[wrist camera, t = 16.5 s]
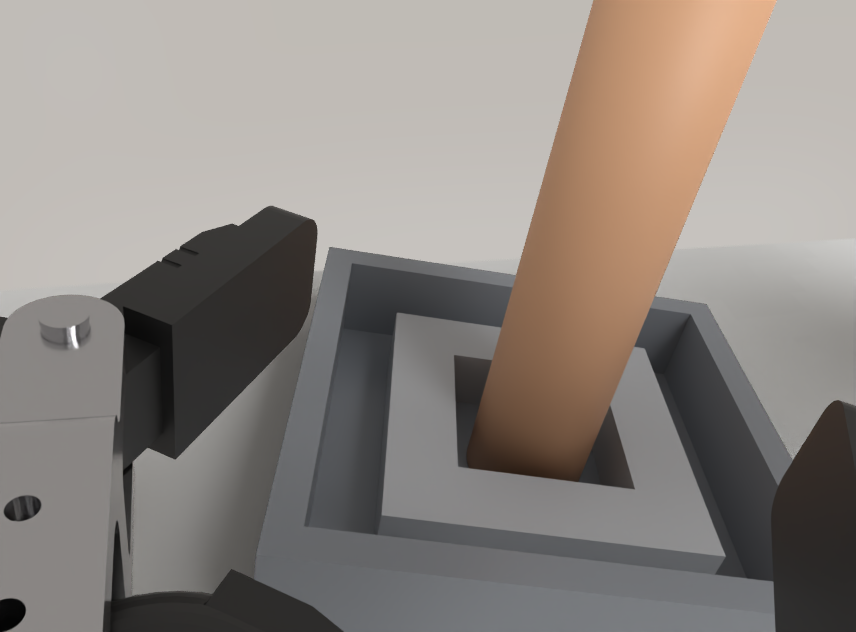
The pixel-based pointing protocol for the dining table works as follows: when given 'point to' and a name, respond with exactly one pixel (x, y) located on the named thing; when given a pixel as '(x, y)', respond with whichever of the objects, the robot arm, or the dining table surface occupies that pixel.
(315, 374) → the box
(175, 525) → the dining table surface
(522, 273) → the peg
